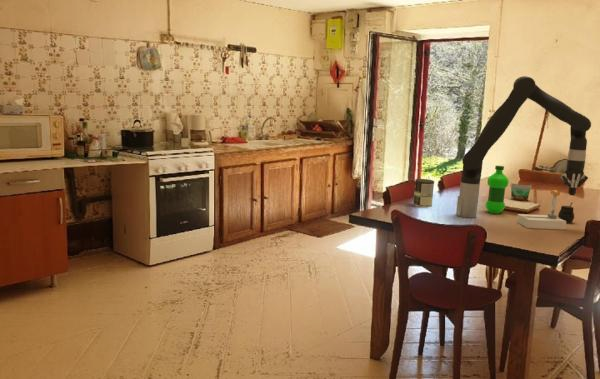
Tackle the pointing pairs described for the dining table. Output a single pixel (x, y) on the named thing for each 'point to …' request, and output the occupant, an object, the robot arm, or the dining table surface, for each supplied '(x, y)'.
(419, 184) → the coffee can
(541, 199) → the dining table surface
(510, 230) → the dining table surface
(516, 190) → the food container
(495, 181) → the plastic bottle
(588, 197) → the dining table surface
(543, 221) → the block
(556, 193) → the breaker handle
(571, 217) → the mate gourd
